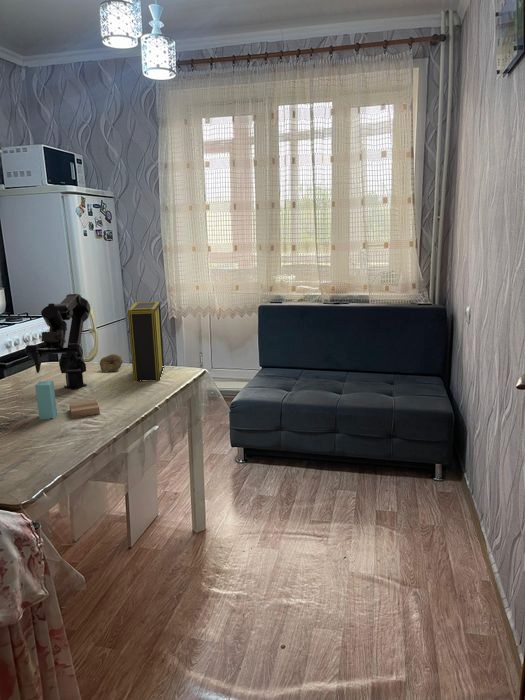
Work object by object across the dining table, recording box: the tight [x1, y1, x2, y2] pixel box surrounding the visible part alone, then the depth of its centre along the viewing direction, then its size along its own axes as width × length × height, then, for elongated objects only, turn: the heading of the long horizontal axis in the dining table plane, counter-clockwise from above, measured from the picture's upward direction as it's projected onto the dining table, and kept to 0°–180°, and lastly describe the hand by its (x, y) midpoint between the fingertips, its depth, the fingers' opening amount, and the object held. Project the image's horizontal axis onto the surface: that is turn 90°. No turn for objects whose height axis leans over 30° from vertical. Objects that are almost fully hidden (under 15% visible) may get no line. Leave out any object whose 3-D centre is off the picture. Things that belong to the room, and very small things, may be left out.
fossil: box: [99, 353, 124, 373], centre depth 236 cm, size 9×4×10 cm
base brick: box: [68, 399, 101, 419], centre depth 183 cm, size 9×9×2 cm
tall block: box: [34, 380, 58, 420], centre depth 178 cm, size 4×4×12 cm
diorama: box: [127, 301, 165, 382], centre depth 224 cm, size 21×11×30 cm, turn 5°
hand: (51, 372), depth 184 cm, fingers open, 9 cm apart
